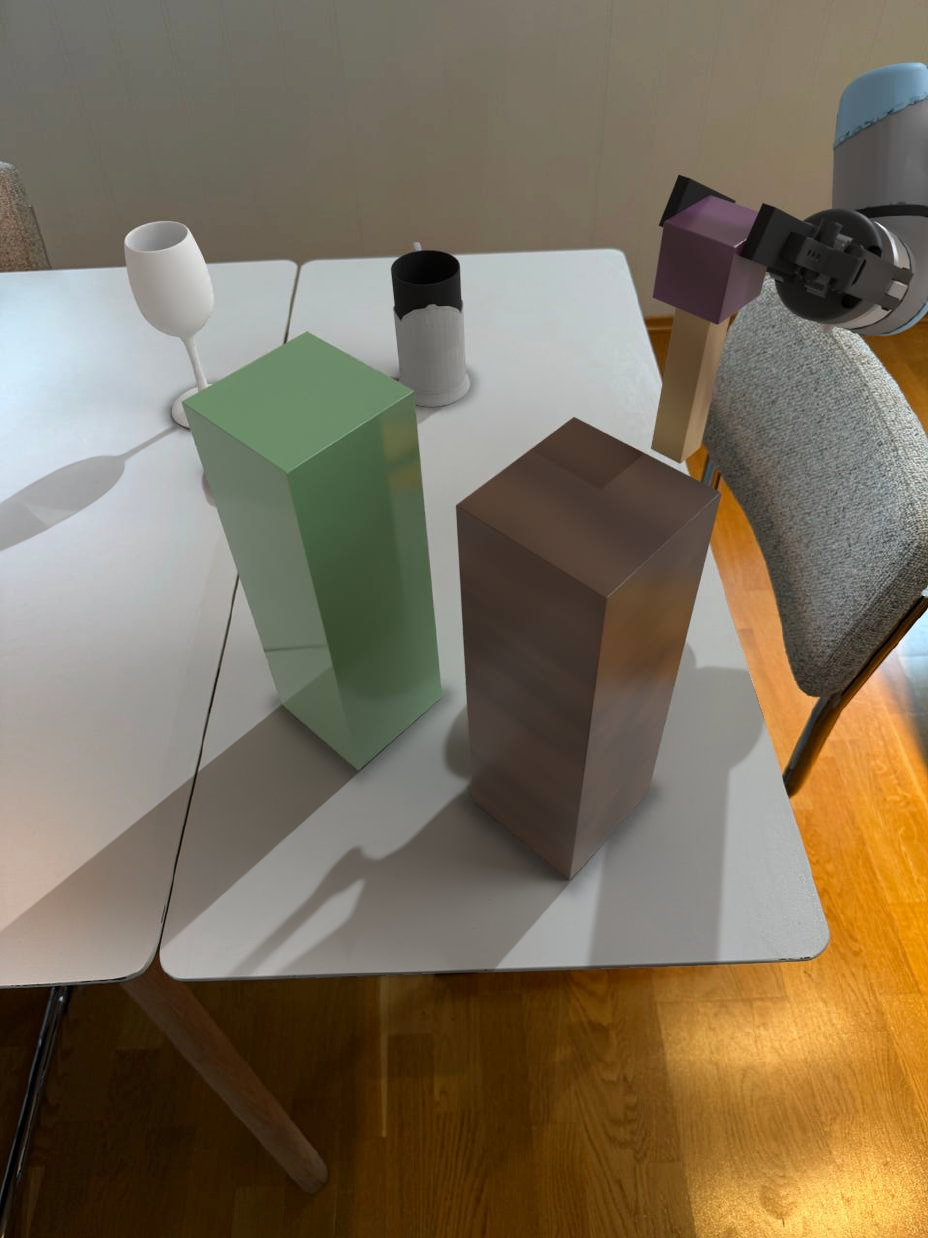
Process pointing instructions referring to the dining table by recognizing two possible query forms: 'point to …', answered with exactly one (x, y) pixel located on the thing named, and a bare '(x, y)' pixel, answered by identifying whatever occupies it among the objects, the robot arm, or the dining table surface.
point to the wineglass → (171, 289)
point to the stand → (575, 632)
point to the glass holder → (430, 326)
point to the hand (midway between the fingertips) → (715, 216)
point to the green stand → (327, 536)
